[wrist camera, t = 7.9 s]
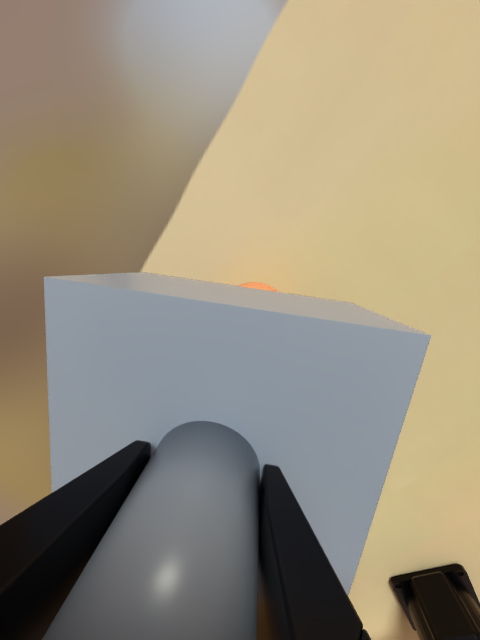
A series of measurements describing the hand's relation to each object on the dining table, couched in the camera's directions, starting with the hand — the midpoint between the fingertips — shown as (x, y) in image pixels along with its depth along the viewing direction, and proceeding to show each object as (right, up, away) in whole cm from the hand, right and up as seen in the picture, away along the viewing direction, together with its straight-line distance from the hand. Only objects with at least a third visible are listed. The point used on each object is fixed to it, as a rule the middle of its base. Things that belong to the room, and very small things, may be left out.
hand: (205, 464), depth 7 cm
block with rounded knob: (0, +1, +6) cm, 6 cm away
